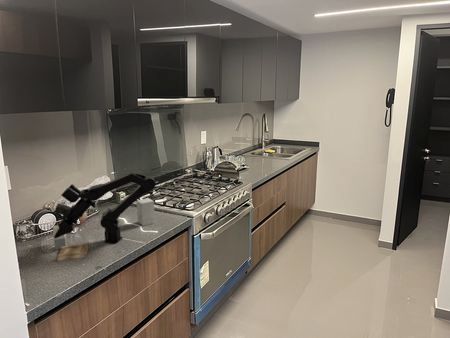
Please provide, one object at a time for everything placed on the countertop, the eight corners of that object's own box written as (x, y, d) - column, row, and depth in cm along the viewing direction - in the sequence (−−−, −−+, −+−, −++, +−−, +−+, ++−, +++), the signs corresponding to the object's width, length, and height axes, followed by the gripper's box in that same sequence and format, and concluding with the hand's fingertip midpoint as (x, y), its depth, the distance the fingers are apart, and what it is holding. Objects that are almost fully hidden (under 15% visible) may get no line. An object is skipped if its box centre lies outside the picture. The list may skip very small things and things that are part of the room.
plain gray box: (67, 244, 160) (65, 224, 158) (65, 248, 156) (63, 228, 154) (57, 245, 159) (54, 225, 157) (55, 249, 155) (52, 229, 153)
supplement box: (155, 223, 185) (154, 201, 183) (142, 226, 181) (140, 203, 179) (150, 219, 191) (148, 197, 189) (137, 222, 187) (136, 200, 185)
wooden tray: (88, 246, 158) (87, 242, 157) (85, 257, 147) (85, 252, 147) (62, 249, 155) (61, 245, 154) (57, 260, 144) (57, 256, 144)
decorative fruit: (91, 223, 186) (89, 206, 184) (77, 228, 179) (75, 210, 177) (81, 220, 191) (79, 203, 189) (67, 225, 184) (65, 207, 182)
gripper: (68, 192, 162) (45, 216, 162) (61, 204, 145) (36, 231, 144) (87, 206, 166) (65, 230, 166) (83, 219, 149) (58, 246, 148)
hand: (56, 234), depth 156 cm, fingers open, 8 cm apart
